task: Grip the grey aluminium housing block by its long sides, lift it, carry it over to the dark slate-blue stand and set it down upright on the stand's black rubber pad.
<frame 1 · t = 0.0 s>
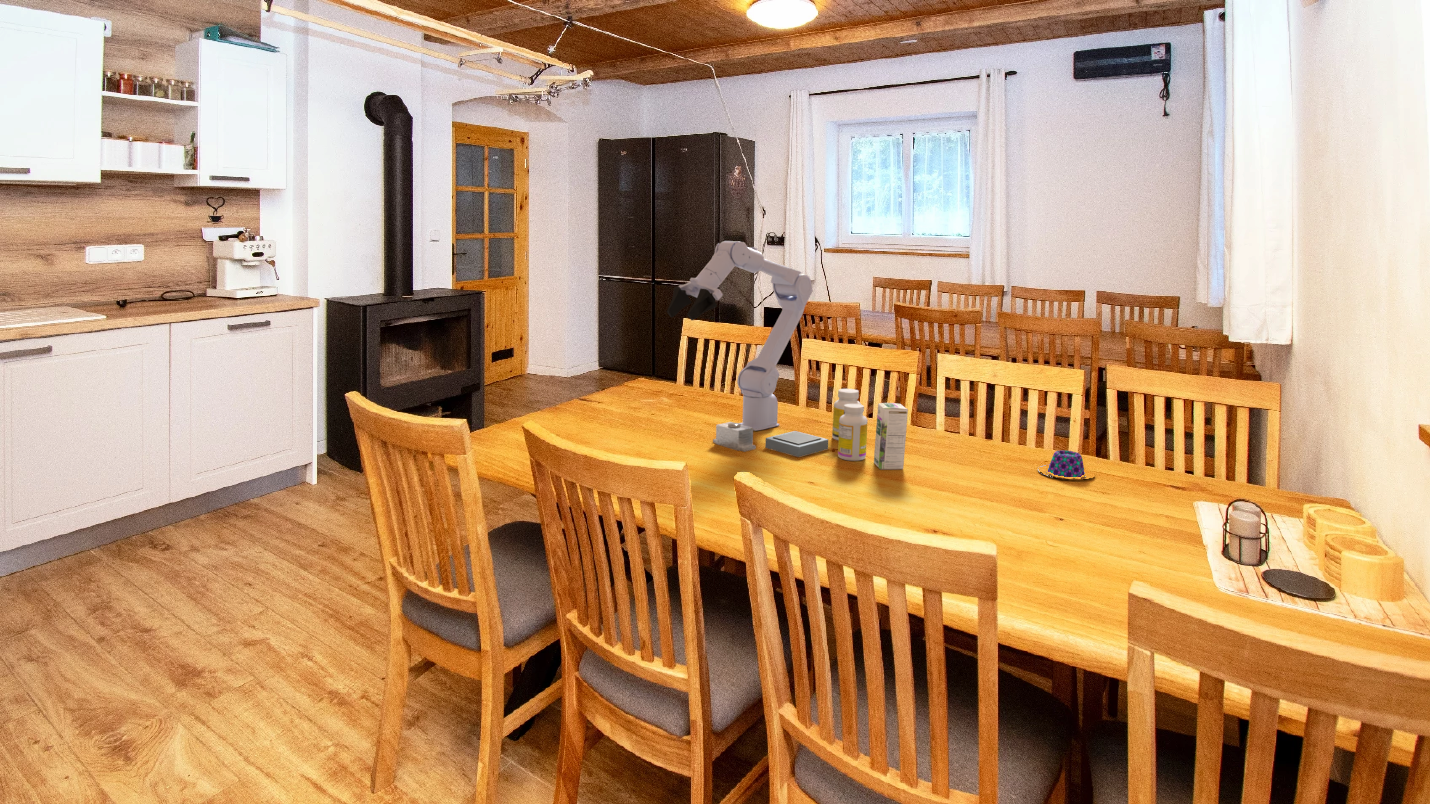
hand: (679, 316, 204), 32 cm above the table, tool tilted 50°, fingers open, 7 cm apart
housing: (734, 445, 211), on the table
supplement bottle: (845, 439, 219), on the table
syrup box: (888, 467, 195), on the table
supplement bottle 2: (851, 458, 202), on the table
polka-dot brimmed hat: (1065, 476, 191), on the table
stand: (796, 448, 209), on the table
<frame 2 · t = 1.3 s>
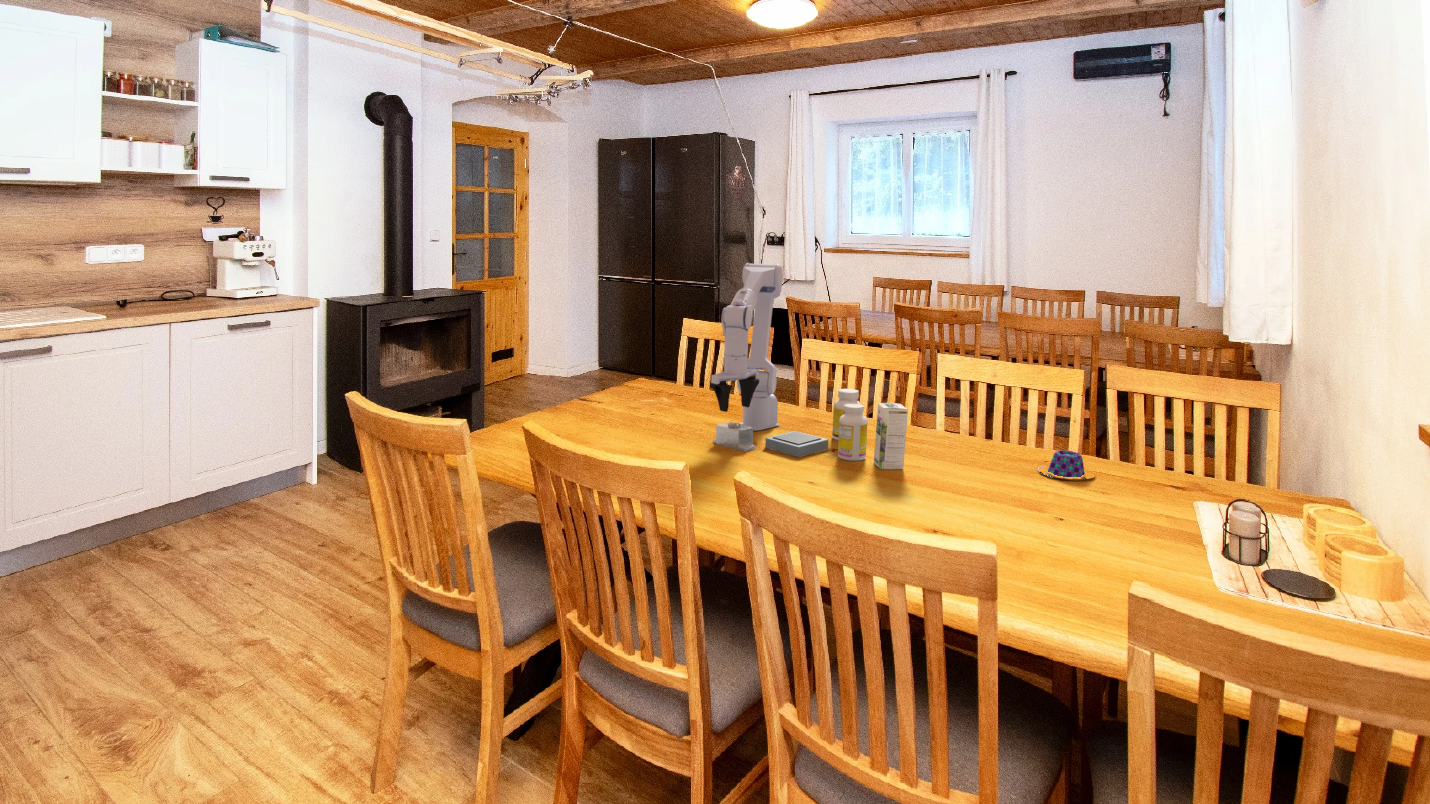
hand: (734, 408, 209), 9 cm above the table, tool pointing down, fingers open, 7 cm apart
nothing on the table moved.
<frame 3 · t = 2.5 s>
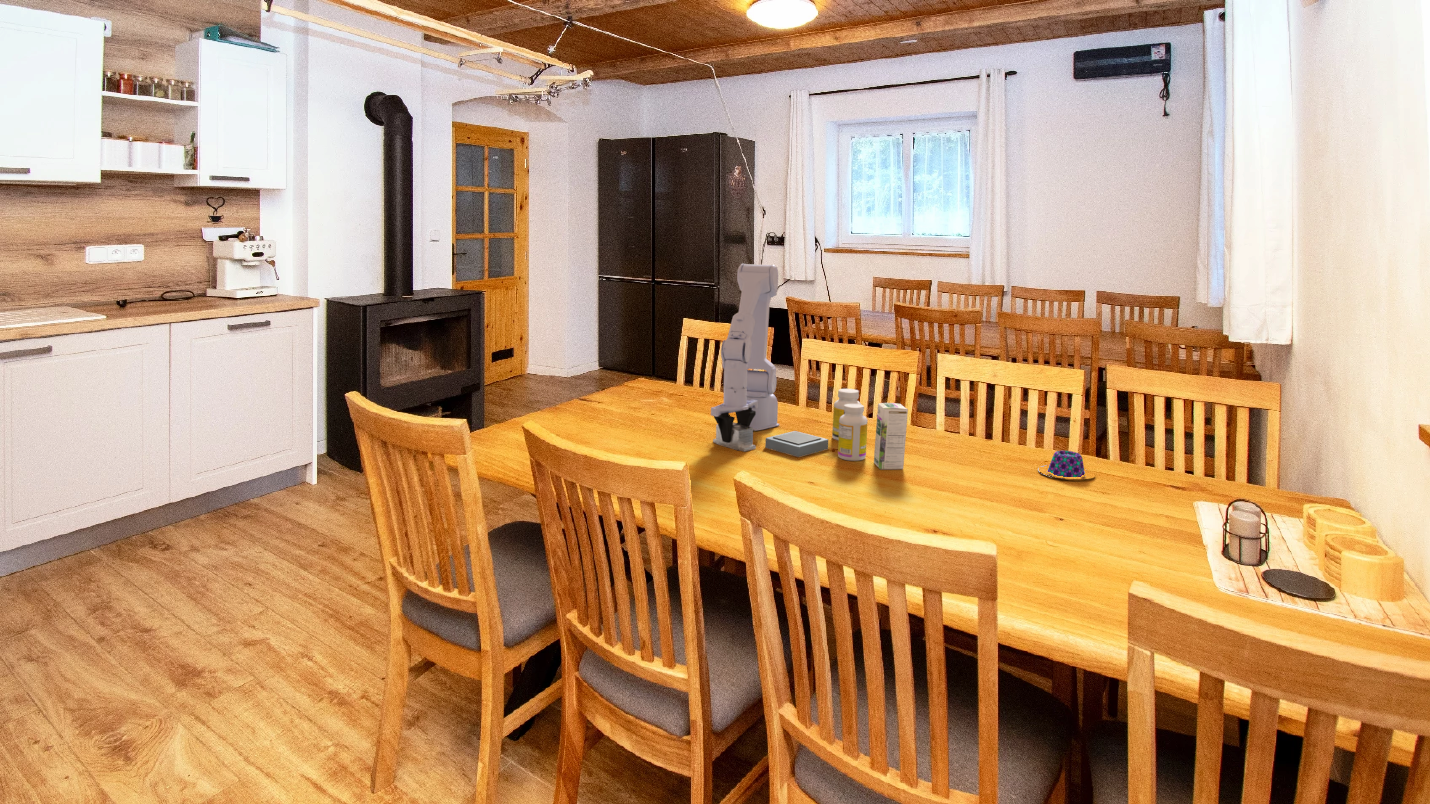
hand: (734, 440, 210), 1 cm above the table, tool pointing down, fingers closed on housing, 5 cm apart
housing: (734, 445, 211), on the table, touching gripper
everything else where it was.
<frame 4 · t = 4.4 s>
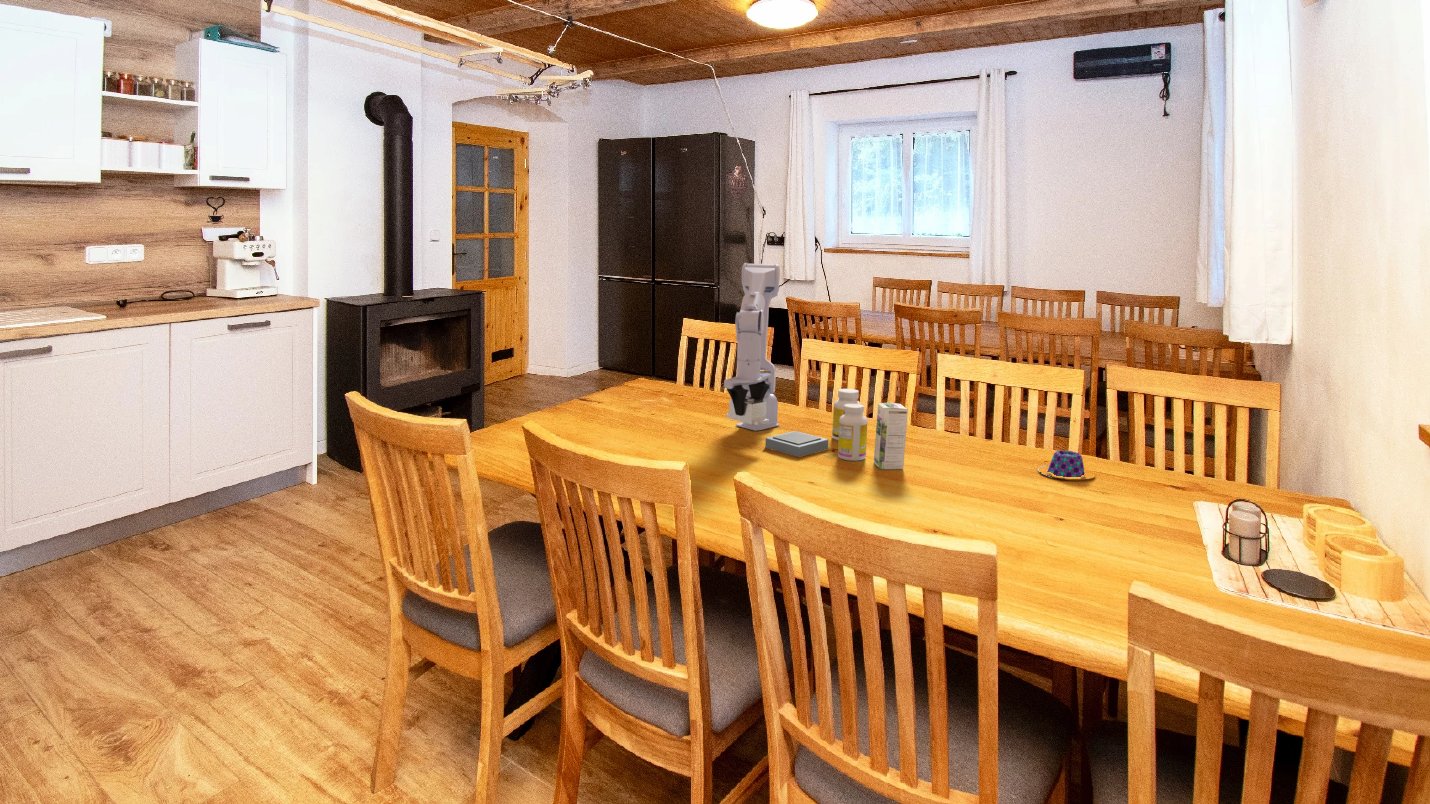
hand: (747, 413, 208), 8 cm above the table, tool pointing down, fingers closed on housing, 5 cm apart
housing: (747, 419, 209), point 7 cm above the table, touching gripper
everything else where it was.
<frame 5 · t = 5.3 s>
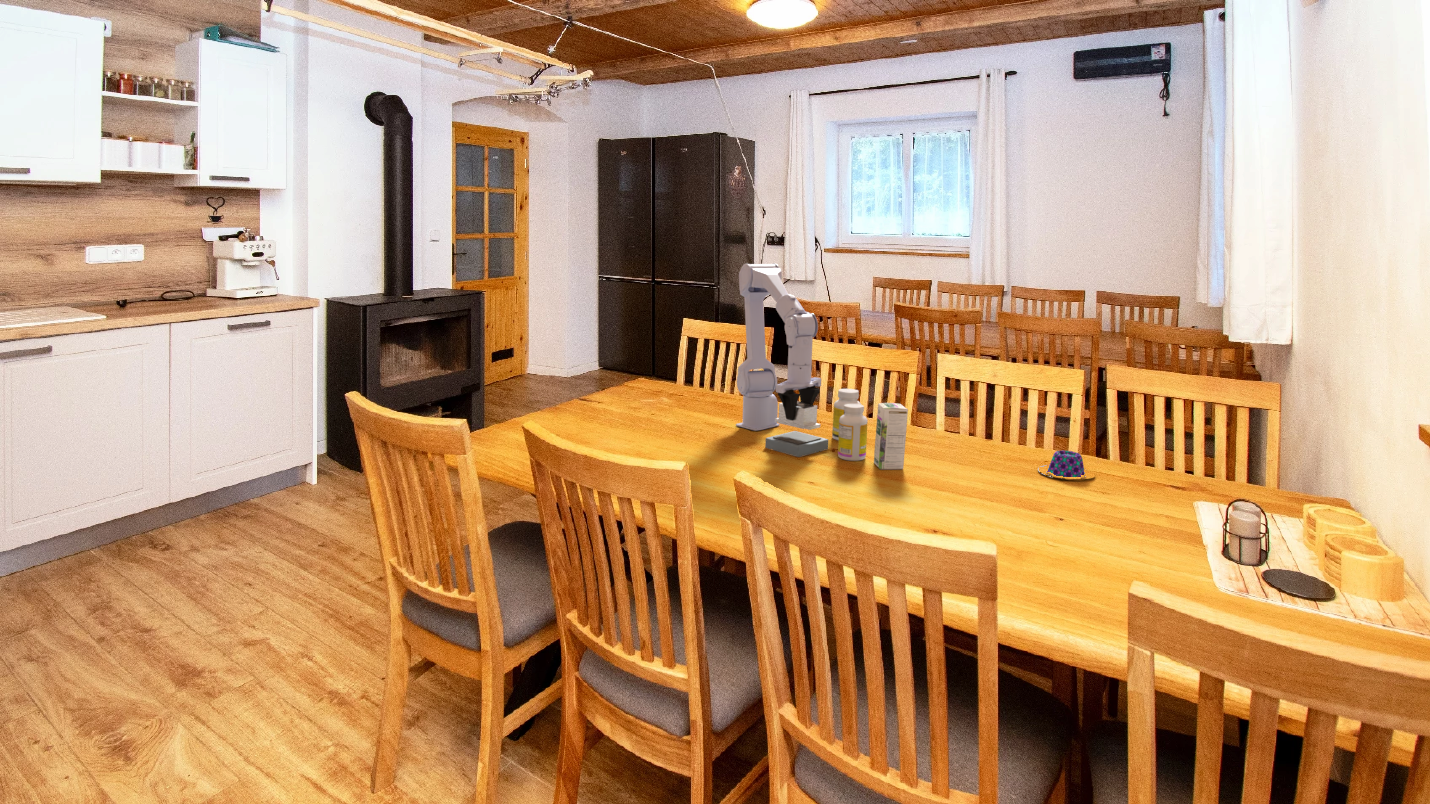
hand: (797, 417, 207), 8 cm above the table, tool pointing down, fingers closed on housing, 5 cm apart
housing: (797, 424, 208), point 6 cm above the table, touching gripper
everything else where it was.
when the fingers open (6 cm above the table, at t = 6.1 s): housing drops 1 cm, resting on stand.
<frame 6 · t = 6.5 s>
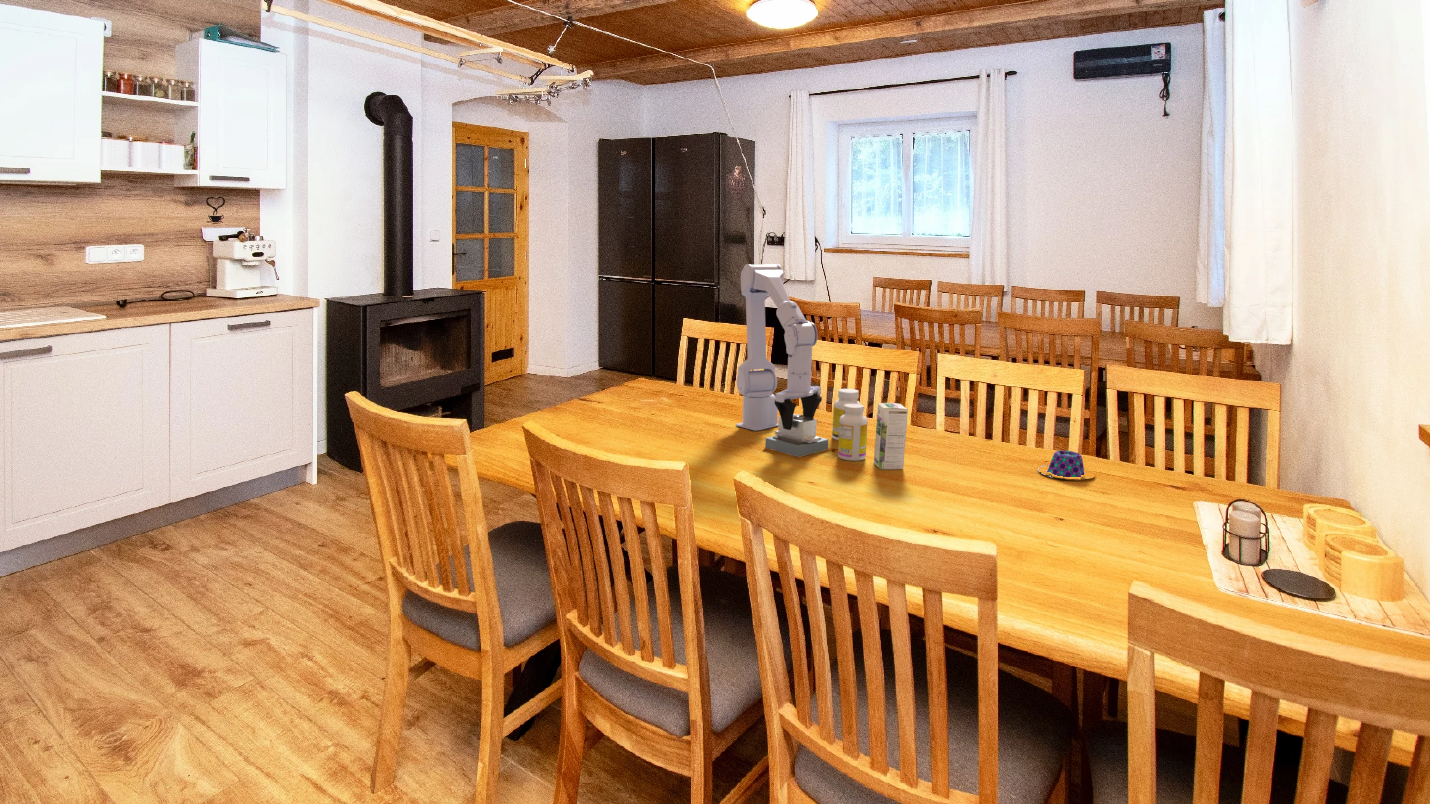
hand: (797, 426, 208), 6 cm above the table, tool pointing down, fingers open, 7 cm apart
housing: (796, 437, 208), point 3 cm above the table, touching stand
everything else where it was.
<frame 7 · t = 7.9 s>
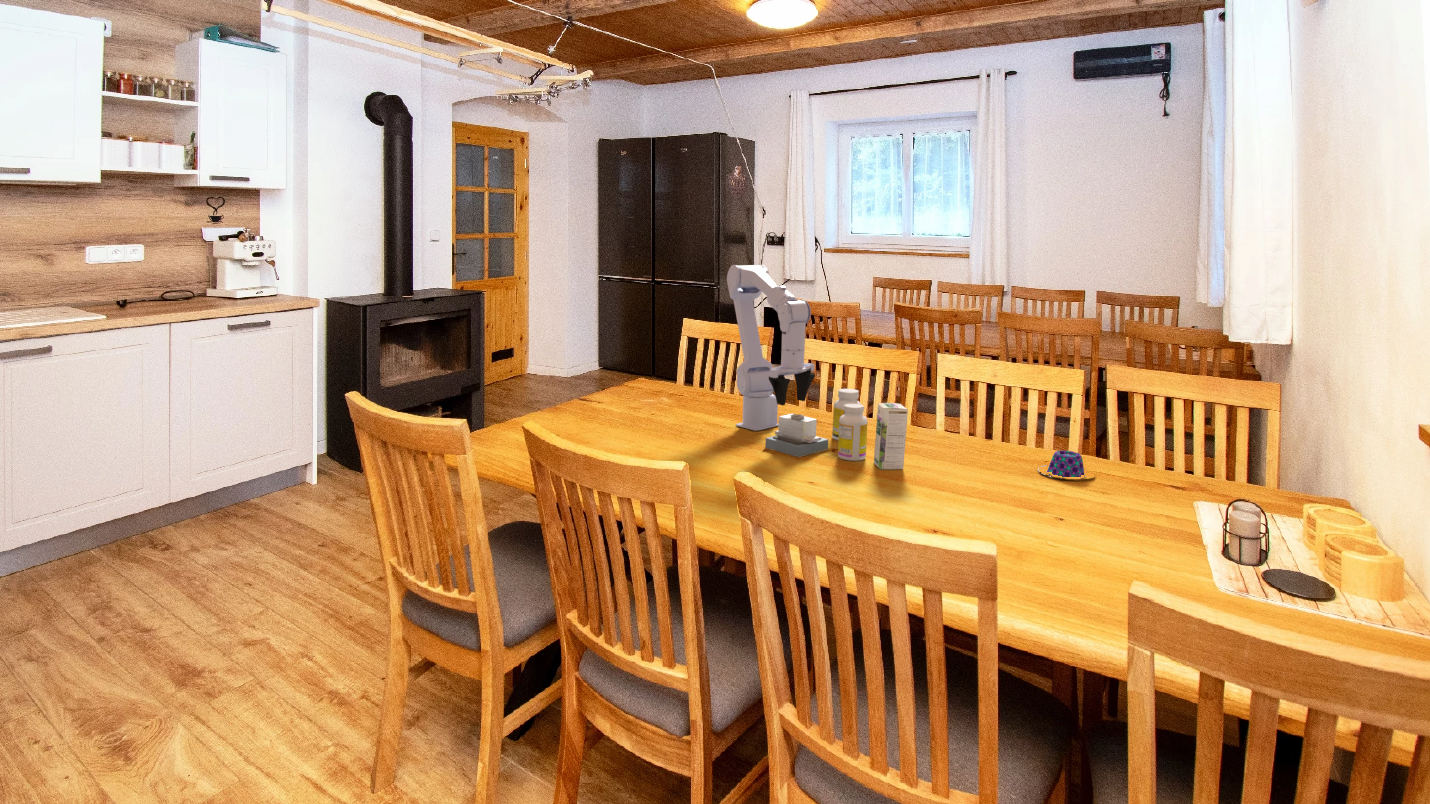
hand: (791, 402, 212), 10 cm above the table, tool pointing down, fingers open, 7 cm apart
nothing on the table moved.
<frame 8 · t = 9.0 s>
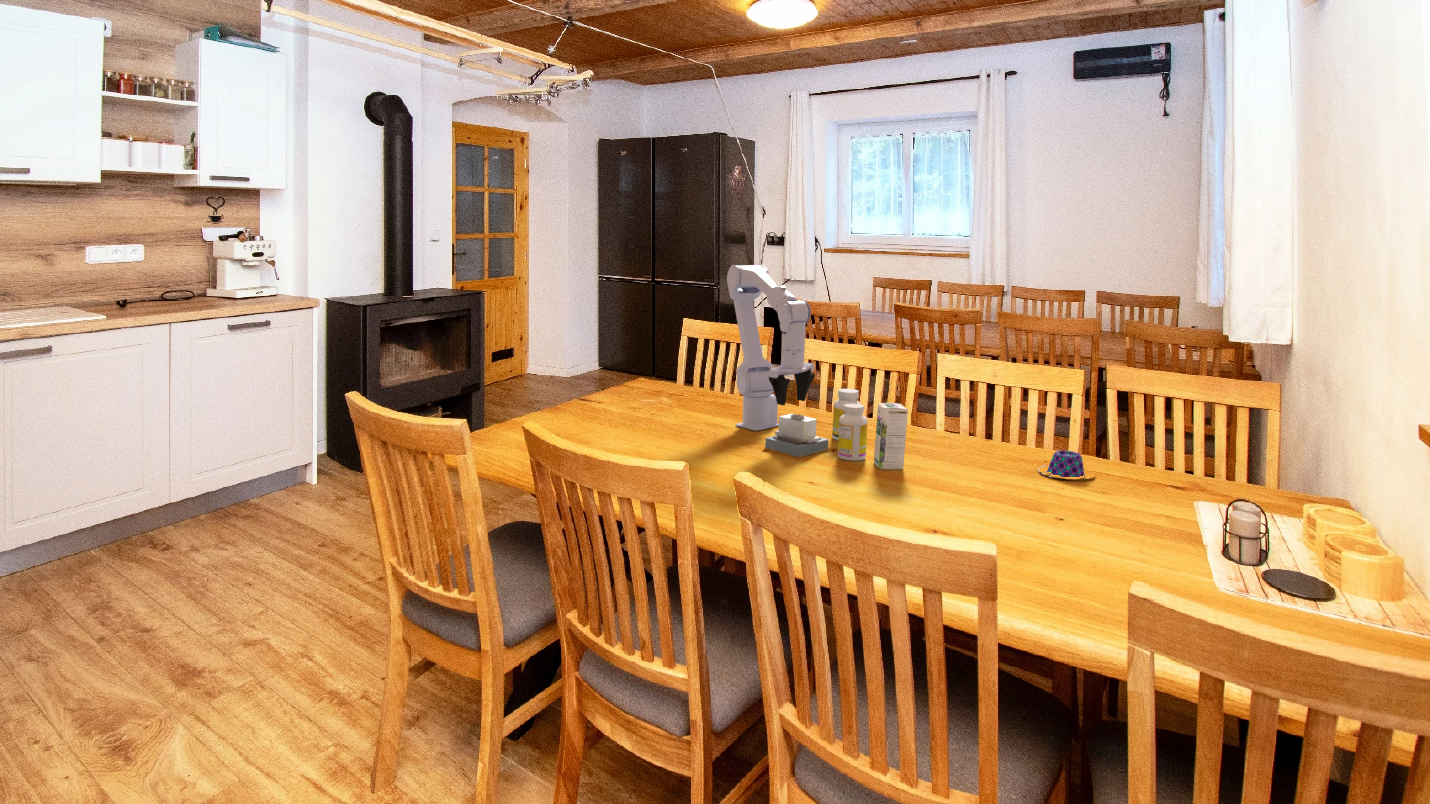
hand: (791, 402, 212), 10 cm above the table, tool pointing down, fingers open, 7 cm apart
nothing on the table moved.
at the end: housing 0.1 cm off-centre on the stand, point 2.8 cm above the stand's base; housing tilted 0°; the gripper is holding nothing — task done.
